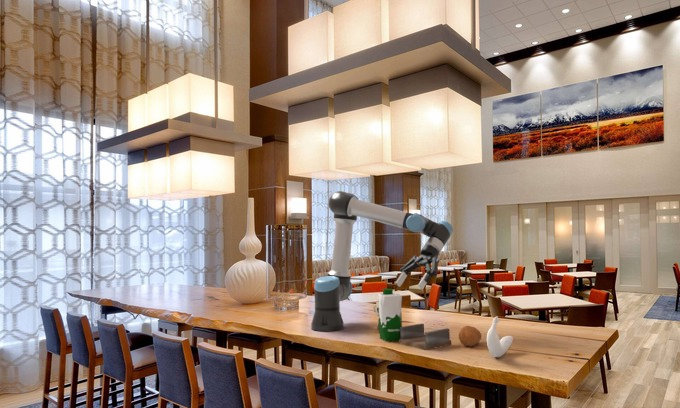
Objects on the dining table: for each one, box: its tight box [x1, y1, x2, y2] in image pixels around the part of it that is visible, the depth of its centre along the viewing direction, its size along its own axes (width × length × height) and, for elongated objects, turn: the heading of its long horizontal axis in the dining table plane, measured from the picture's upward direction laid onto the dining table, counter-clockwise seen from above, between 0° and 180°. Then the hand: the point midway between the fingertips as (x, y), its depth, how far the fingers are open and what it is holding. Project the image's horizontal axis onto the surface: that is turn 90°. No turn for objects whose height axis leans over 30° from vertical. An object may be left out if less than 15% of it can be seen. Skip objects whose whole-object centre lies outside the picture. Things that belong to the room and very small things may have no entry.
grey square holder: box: [398, 323, 452, 351], centre depth 168 cm, size 14×14×6 cm
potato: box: [458, 325, 483, 347], centre depth 165 cm, size 7×13×7 cm, turn 142°
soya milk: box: [377, 288, 403, 342], centre depth 177 cm, size 9×9×20 cm
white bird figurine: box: [486, 315, 514, 358], centre depth 148 cm, size 5×19×15 cm, turn 146°
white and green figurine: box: [372, 300, 379, 332], centre depth 193 cm, size 11×7×13 cm, turn 58°
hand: (408, 285), depth 184 cm, fingers open, 13 cm apart
